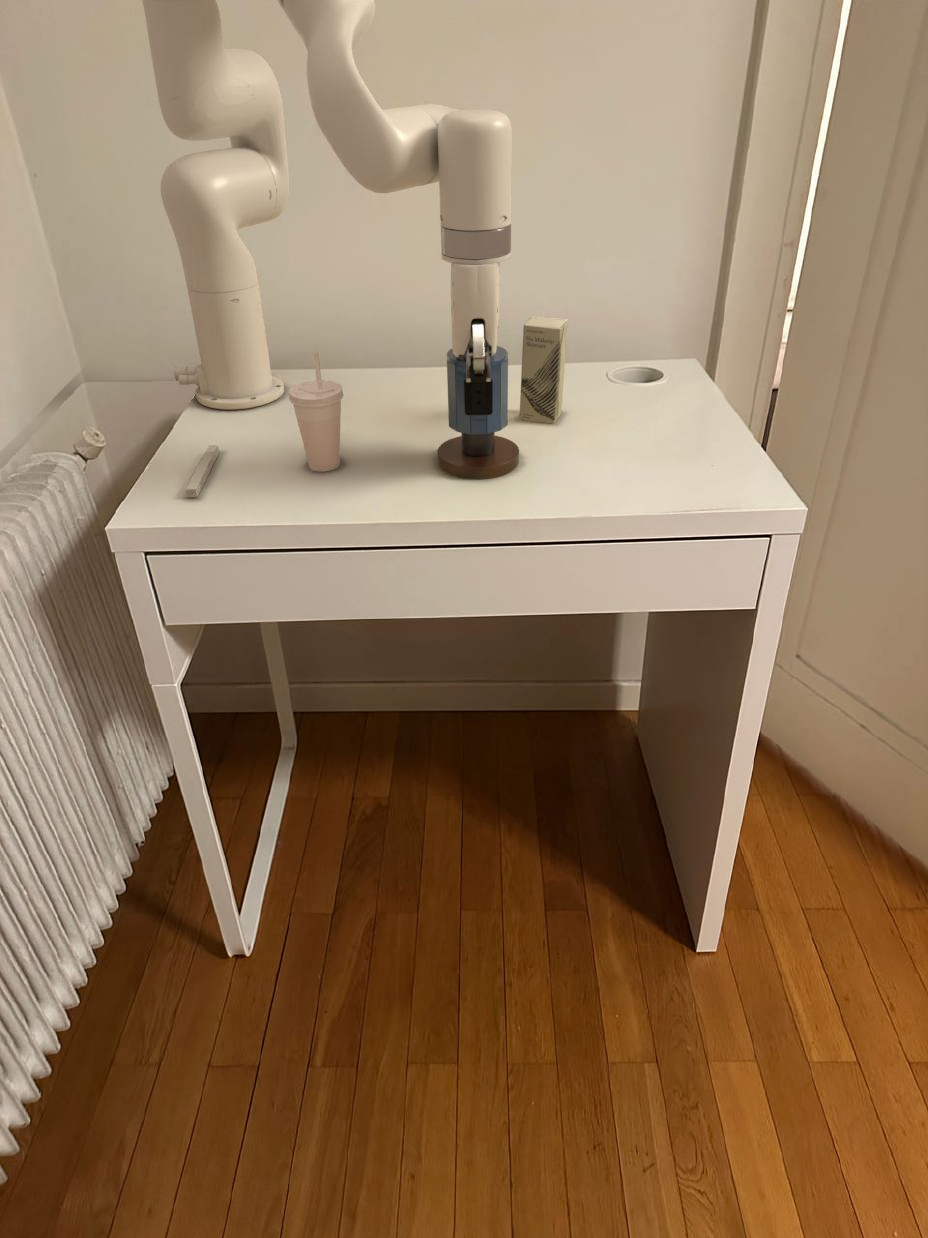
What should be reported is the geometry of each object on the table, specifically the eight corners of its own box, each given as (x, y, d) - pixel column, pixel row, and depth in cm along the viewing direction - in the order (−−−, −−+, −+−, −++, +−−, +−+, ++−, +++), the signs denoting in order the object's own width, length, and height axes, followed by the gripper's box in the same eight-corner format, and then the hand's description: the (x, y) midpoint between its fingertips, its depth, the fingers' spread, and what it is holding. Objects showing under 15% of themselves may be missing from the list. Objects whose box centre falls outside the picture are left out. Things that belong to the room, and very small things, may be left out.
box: (518, 420, 122) (520, 324, 114) (527, 408, 125) (529, 314, 118) (556, 424, 120) (560, 327, 113) (564, 412, 124) (568, 317, 116)
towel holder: (437, 480, 107) (433, 373, 100) (438, 445, 115) (434, 344, 108) (521, 478, 107) (523, 370, 100) (516, 444, 115) (517, 342, 108)
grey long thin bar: (197, 497, 104) (195, 489, 104) (187, 497, 104) (185, 489, 103) (219, 452, 114) (217, 445, 114) (210, 452, 114) (208, 445, 114)
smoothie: (341, 478, 108) (328, 362, 100) (290, 474, 109) (274, 360, 101) (356, 455, 113) (346, 344, 105) (308, 452, 114) (294, 342, 106)
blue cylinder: (448, 435, 105) (446, 363, 100) (448, 412, 111) (446, 344, 106) (508, 433, 105) (509, 362, 100) (505, 411, 111) (506, 342, 106)
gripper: (441, 226, 104) (446, 377, 114) (440, 262, 89) (445, 431, 100) (506, 225, 104) (505, 375, 114) (516, 260, 89) (513, 429, 100)
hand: (477, 400), depth 107 cm, fingers closed on blue cylinder, 7 cm apart
